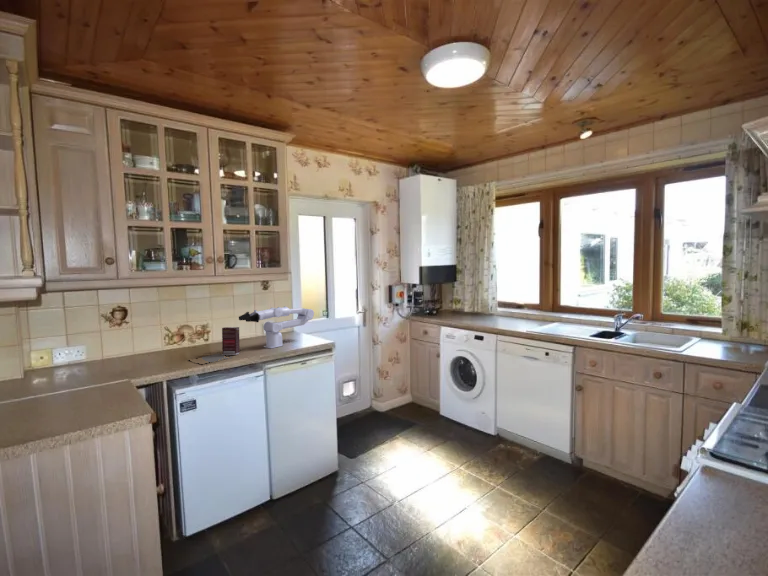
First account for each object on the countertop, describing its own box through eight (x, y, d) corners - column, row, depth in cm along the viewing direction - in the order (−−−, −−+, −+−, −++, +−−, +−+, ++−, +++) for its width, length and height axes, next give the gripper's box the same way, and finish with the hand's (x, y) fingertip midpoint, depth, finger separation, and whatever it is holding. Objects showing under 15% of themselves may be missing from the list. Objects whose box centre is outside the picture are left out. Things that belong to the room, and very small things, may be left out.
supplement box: (240, 353, 228) (239, 326, 228) (236, 355, 223) (235, 327, 223) (226, 353, 228) (225, 327, 229) (221, 355, 224) (221, 327, 224)
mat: (218, 354, 228) (218, 353, 228) (233, 357, 218) (233, 357, 218) (187, 360, 214) (187, 360, 214) (201, 365, 204) (201, 364, 204)
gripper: (255, 307, 242) (235, 311, 232) (268, 309, 233) (248, 313, 223) (256, 318, 243) (236, 322, 233) (269, 321, 234) (249, 325, 224)
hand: (242, 319), depth 228 cm, fingers open, 7 cm apart
